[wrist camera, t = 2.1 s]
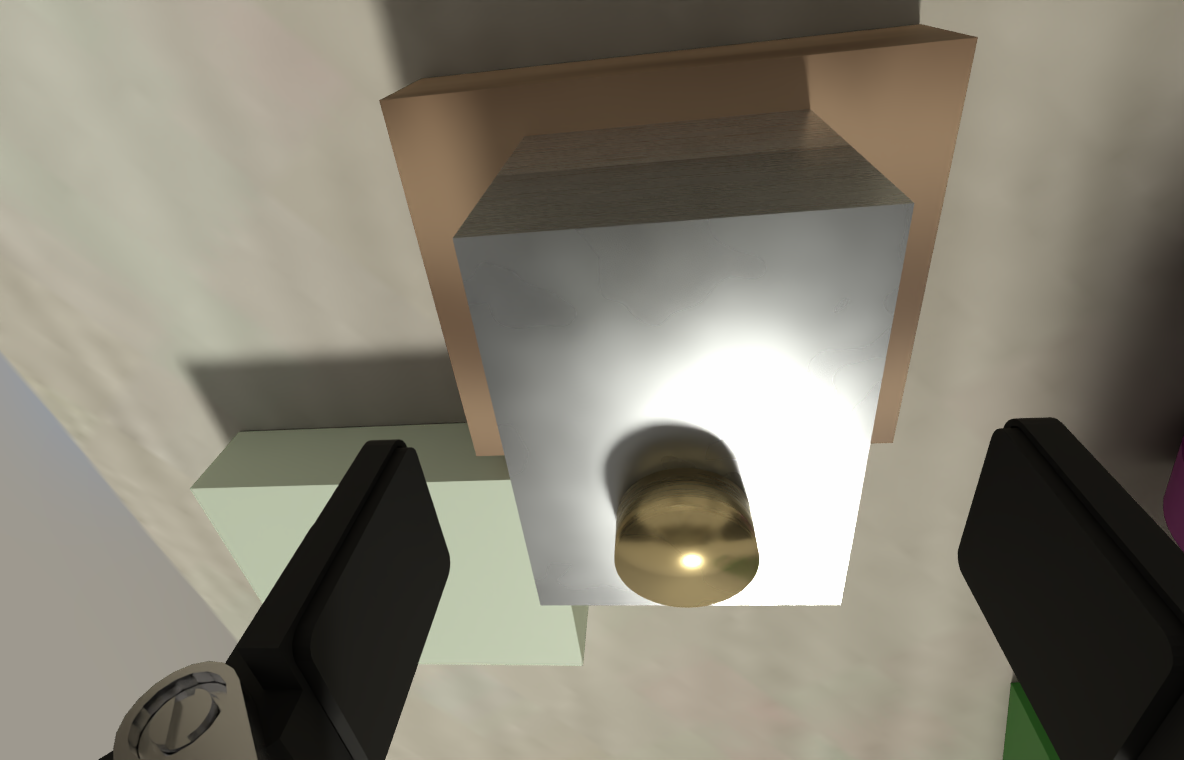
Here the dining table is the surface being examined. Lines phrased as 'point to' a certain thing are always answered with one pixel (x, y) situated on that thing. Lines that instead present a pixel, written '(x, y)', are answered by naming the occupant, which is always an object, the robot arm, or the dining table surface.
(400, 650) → the robot arm
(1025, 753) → the hardback book
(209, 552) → the dining table surface
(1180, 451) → the mounting bracket
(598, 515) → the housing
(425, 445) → the stand
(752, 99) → the stand
